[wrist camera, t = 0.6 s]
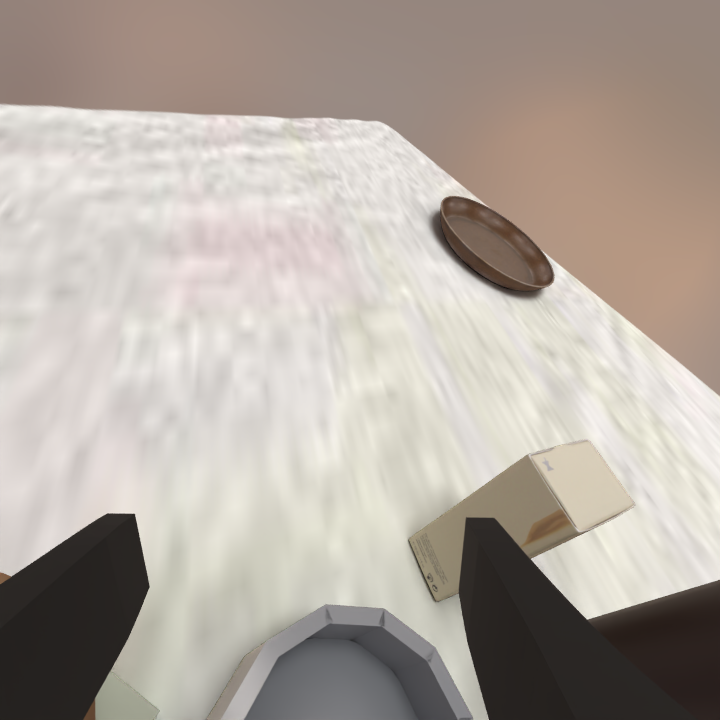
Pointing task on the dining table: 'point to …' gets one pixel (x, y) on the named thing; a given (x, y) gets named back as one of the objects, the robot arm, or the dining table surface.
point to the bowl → (342, 673)
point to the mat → (121, 702)
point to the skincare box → (526, 509)
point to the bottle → (674, 645)
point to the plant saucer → (494, 245)
